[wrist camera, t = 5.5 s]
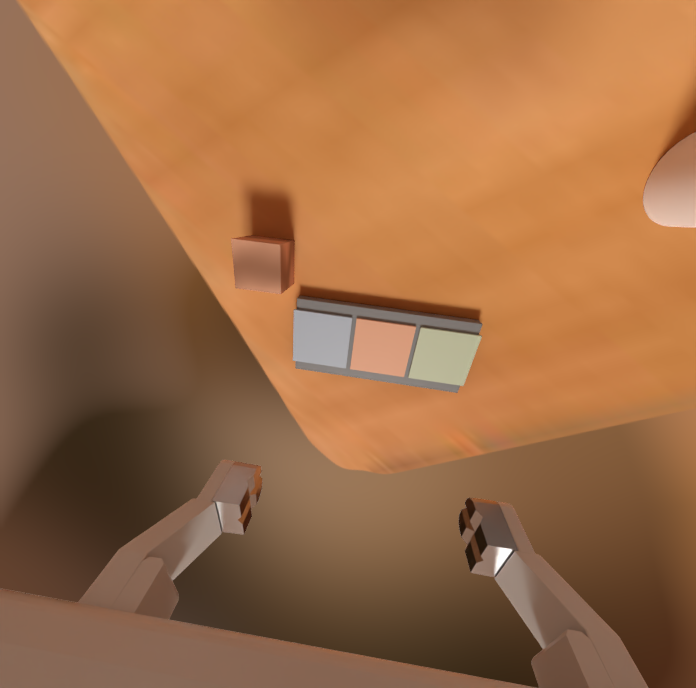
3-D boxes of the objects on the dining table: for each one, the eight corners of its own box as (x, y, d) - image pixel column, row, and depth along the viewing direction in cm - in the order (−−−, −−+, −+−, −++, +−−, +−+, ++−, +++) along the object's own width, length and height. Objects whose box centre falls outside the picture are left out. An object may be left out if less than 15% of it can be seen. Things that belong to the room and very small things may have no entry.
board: (297, 295, 30) (294, 299, 28) (480, 320, 29) (485, 325, 27) (296, 363, 34) (292, 369, 32) (456, 387, 33) (460, 394, 31)
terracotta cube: (252, 235, 28) (231, 238, 24) (294, 240, 27) (280, 244, 23) (255, 278, 30) (235, 288, 26) (294, 283, 29) (280, 294, 25)
